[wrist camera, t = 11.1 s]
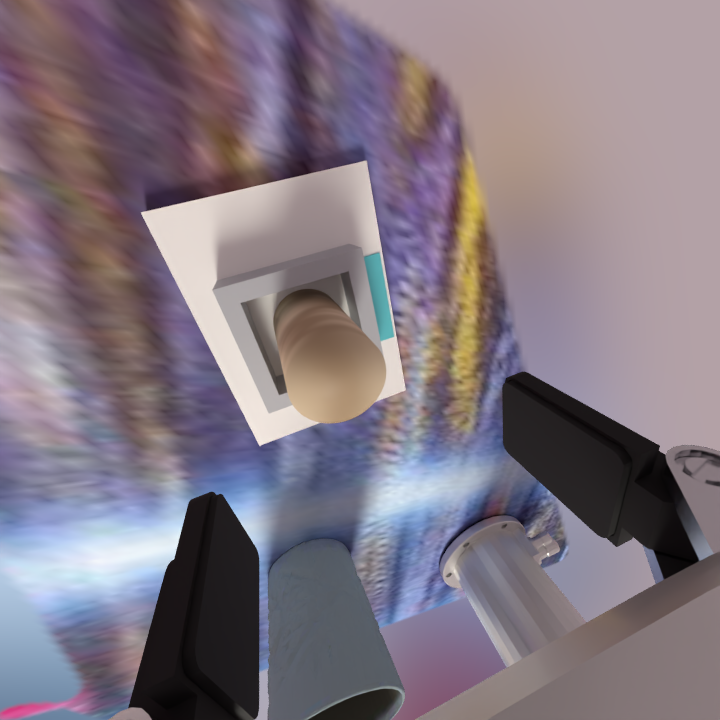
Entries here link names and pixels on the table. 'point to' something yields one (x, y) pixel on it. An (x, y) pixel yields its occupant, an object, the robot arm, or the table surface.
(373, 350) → the barrel peg
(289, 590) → the grey cylindrical pot
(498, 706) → the robot arm
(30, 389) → the table surface
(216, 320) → the white square-hole tray
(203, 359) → the table surface
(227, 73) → the table surface
